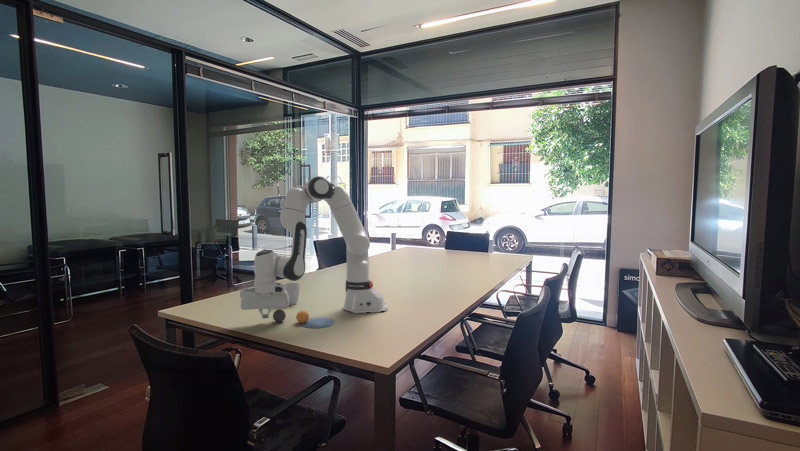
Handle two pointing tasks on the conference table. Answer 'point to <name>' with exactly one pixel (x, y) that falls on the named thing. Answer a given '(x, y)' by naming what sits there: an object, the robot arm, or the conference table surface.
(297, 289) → the cup
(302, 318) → the orange ball
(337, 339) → the conference table surface
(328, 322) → the blue mark
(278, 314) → the dark gray ball
